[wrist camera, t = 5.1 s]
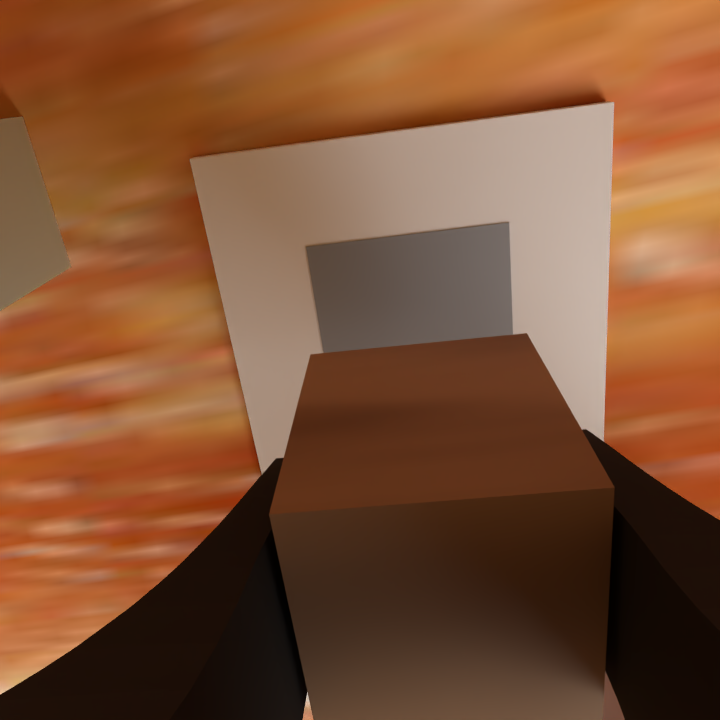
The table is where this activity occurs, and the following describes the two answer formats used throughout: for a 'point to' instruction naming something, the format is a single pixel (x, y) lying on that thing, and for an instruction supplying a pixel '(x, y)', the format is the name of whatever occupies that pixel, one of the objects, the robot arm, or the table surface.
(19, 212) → the sage block
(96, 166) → the table surface
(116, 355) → the table surface
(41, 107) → the table surface
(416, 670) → the walnut block
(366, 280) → the white flat square plate
